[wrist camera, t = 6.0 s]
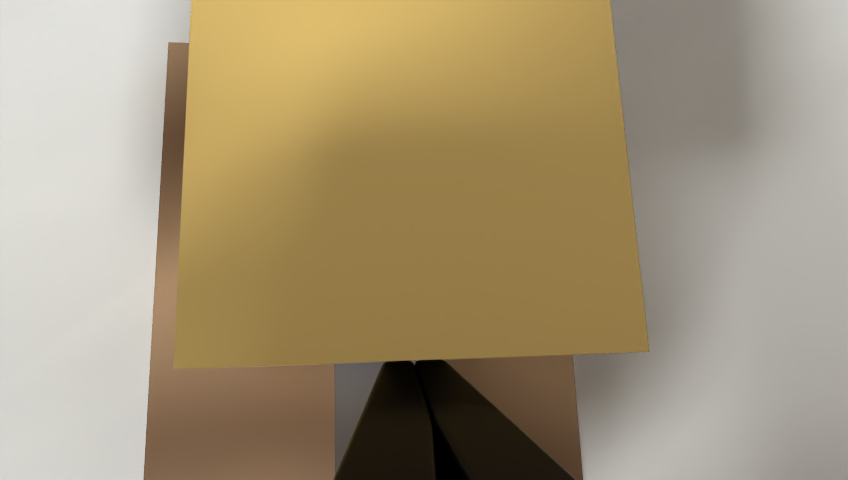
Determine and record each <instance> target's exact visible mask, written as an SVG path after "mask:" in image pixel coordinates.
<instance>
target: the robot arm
mask: <svg viewBox="0 0 848 480" xmlns="http://www.w3.org/2000/svg"><path fill="white" fill-rule="evenodd" d="M333 480H576V479H575V478H574V477H573V476H572V475H571V474H570V473H569V472H568V471H566V470H565V469H564V468H563V467H562V466H561V465H560V464H559V463H558V462H557V461H555V460H554V459H553V458H552V457H551V456H550V455H549V454H548V453H547V452H546V451H544V450H543V449H542V448H541V447H540V446H539V445H538V444H537V443H536V442H534V441H533V440H532V439H531V438H530V437H529V436H528V435H527V434H526V433H525V432H523V431H522V430H521V429H520V428H519V427H518V426H517V425H516V424H515V423H514V422H512V421H511V420H510V419H509V418H508V417H507V416H506V415H505V414H504V413H502V412H501V411H500V410H499V409H498V408H497V407H496V406H495V405H494V404H493V403H491V402H490V401H489V400H488V399H487V398H486V397H485V396H484V395H483V394H482V393H480V392H479V391H478V390H477V389H476V388H475V387H474V386H473V385H472V384H470V383H469V382H468V381H467V380H466V379H465V378H464V377H463V376H462V375H461V374H459V373H458V372H457V371H456V370H455V369H454V368H453V367H452V366H451V365H450V364H448V363H447V362H446V361H444V360H442V359H439V360H418V361H416V362H415V364H413V362H411V361H387V362H384V363H383V365H382V366H381V369H380V371H379V373H378V376H377V378H376V381H375V383H374V385H373V388H372V390H371V392H370V395H369V397H368V399H367V402H366V404H365V406H364V409H363V411H362V413H361V416H360V418H359V420H358V423H357V425H356V427H355V430H354V432H353V434H352V437H351V439H350V441H349V444H348V446H347V448H346V451H345V453H344V455H343V458H342V460H341V462H340V465H339V467H338V469H337V472H336V474H335V476H334V479H333Z"/></svg>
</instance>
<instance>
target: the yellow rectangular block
mask: <svg viewBox="0 0 848 480" xmlns="http://www.w3.org/2000/svg"><path fill="white" fill-rule="evenodd" d="M630 352H649V344H648V335H647V326H646V317H645V308H644V300H643V291H642V282H641V273H640V264H639V255H638V246H637V237H636V228H635V219H634V210H633V201H632V192H631V183H630V174H629V165H628V156H627V147H626V138H625V129H624V120H623V111H622V102H621V93H620V84H619V76H618V67H617V58H616V49H615V40H614V31H613V22H612V13H611V4H610V0H191V19H190V40H189V60H188V80H187V101H186V121H185V141H184V161H183V182H182V202H181V222H180V243H179V263H178V283H177V304H176V324H175V344H174V364H173V369H192V368H228V367H263V366H290V365H317V364H342V363H369V362H387V361H418V360H439V359H442V360H454V359H481V358H506V357H531V356H556V355H580V354H605V353H630Z"/></svg>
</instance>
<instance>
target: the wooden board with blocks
mask: <svg viewBox="0 0 848 480" xmlns="http://www.w3.org/2000/svg"><path fill="white" fill-rule="evenodd" d="M188 60H189V43H172V42H169V44H168V61H167V79H166V96H165V114H164V131H163V149H162V166H161V184H160V201H159V219H158V236H157V254H156V271H155V289H154V306H153V324H152V341H151V359H150V376H149V394H148V411H147V429H146V446H145V464H144V480H333V479H334V476H335V474H336V472H337V469H338V467H339V465H340V462H341V460H342V458H343V455H344V453H345V451H346V448H347V446H348V444H349V441H350V439H351V437H352V434H353V432H354V430H355V427H356V425H357V423H358V420H359V418H360V416H361V413H362V411H363V409H364V406H365V404H366V402H367V399H368V397H369V395H370V392H371V390H372V388H373V385H374V383H375V381H376V378H377V376H378V373H379V371H380V369H381V366H382V365H383V363H384V362H369V363H342V364H317V365H290V366H263V367H228V368H192V369H173V364H174V344H175V324H176V304H177V283H178V263H179V243H180V222H181V202H182V182H183V161H184V141H185V121H186V101H187V80H188ZM444 361H446V362H447V363H448V364H450V365H451V366H452V367H453V368H454V369H455V370H456V371H457V372H458V373H459V374H461V375H462V376H463V377H464V378H465V379H466V380H467V381H468V382H469V383H470V384H472V385H473V386H474V387H475V388H476V389H477V390H478V391H479V392H480V393H482V394H483V395H484V396H485V397H486V398H487V399H488V400H489V401H490V402H491V403H493V404H494V405H495V406H496V407H497V408H498V409H499V410H500V411H501V412H502V413H504V414H505V415H506V416H507V417H508V418H509V419H510V420H511V421H512V422H514V423H515V424H516V425H517V426H518V427H519V428H520V429H521V430H522V431H523V432H525V433H526V434H527V435H528V436H529V437H530V438H531V439H532V440H533V441H534V442H536V443H537V444H538V445H539V446H540V447H541V448H542V449H543V450H544V451H546V452H547V453H548V454H549V455H550V456H551V457H552V458H553V459H554V460H555V461H557V462H558V463H559V464H560V465H561V466H562V467H563V468H564V469H565V470H566V471H568V472H569V473H570V474H571V475H572V476H573V477H574V478H575V479H576V480H583V474H582V462H581V451H580V439H579V427H578V415H577V404H576V392H575V380H574V369H573V357H572V355H556V356H531V357H506V358H481V359H454V360H444ZM411 362H413V364H415V362H416V361H411Z"/></svg>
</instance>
